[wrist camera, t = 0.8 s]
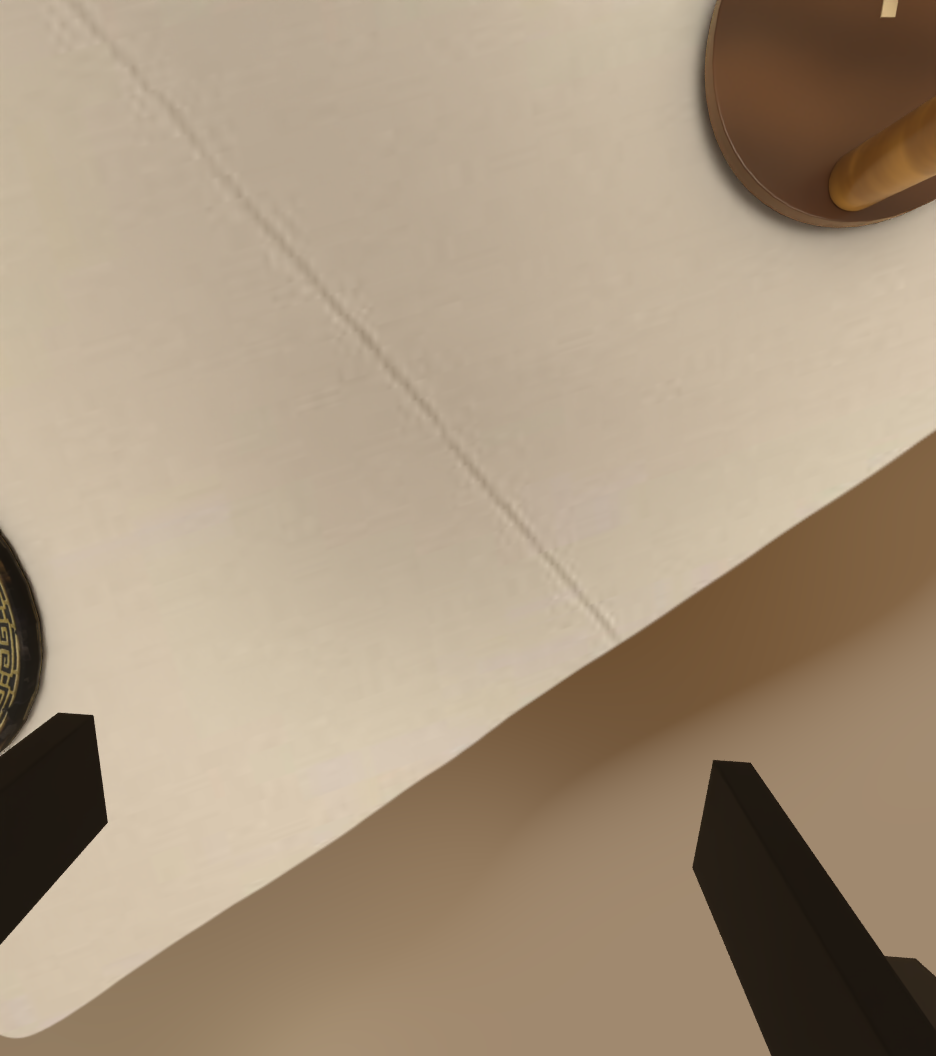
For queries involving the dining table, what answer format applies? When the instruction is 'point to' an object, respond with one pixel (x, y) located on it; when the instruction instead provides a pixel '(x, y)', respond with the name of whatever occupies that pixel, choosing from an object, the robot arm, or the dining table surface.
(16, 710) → the decorative plate
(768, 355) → the dining table surface
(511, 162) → the dining table surface
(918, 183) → the turntable
